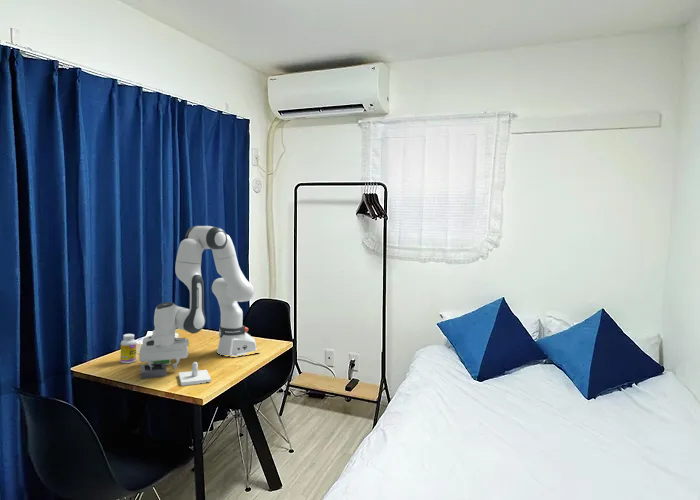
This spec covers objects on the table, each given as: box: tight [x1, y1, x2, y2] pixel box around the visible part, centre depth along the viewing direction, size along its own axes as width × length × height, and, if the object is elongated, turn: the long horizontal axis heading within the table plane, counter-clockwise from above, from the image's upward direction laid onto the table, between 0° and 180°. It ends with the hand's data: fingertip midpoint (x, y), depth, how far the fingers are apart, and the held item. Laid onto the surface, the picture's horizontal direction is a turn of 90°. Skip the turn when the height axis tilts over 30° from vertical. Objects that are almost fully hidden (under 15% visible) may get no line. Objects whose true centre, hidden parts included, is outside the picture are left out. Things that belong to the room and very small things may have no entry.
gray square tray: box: [140, 362, 167, 380], centre depth 195 cm, size 10×10×3 cm
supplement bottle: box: [119, 333, 137, 364], centre depth 208 cm, size 7×7×13 cm
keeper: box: [178, 361, 212, 387], centre depth 192 cm, size 12×12×8 cm
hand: (163, 369), depth 197 cm, fingers open, 8 cm apart
